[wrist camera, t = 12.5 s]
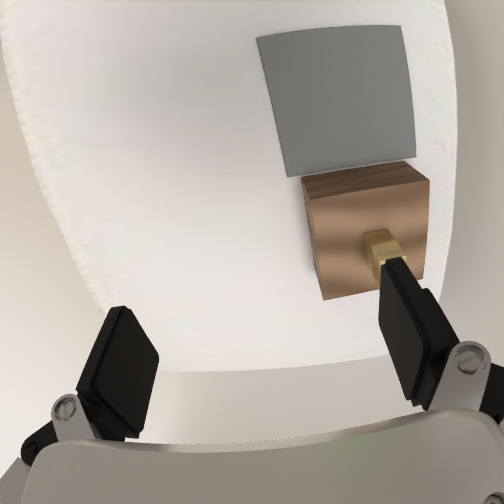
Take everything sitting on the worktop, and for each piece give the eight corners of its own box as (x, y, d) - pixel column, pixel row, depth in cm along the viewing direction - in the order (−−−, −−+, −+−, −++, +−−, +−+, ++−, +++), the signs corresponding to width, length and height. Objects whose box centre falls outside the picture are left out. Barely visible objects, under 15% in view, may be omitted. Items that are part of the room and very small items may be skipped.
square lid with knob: (300, 177, 40) (320, 225, 28) (404, 161, 38) (455, 201, 27) (315, 268, 47) (331, 333, 36) (404, 250, 46) (440, 307, 34)
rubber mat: (256, 38, 30) (256, 37, 30) (398, 26, 28) (400, 25, 28) (287, 176, 40) (287, 177, 39) (414, 156, 37) (416, 157, 37)
